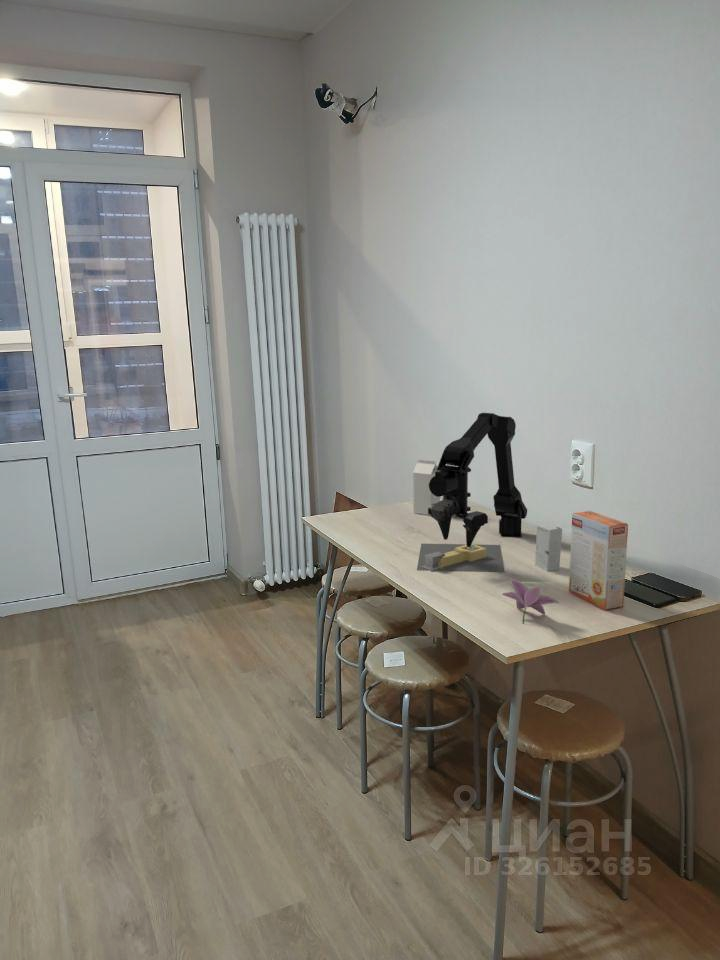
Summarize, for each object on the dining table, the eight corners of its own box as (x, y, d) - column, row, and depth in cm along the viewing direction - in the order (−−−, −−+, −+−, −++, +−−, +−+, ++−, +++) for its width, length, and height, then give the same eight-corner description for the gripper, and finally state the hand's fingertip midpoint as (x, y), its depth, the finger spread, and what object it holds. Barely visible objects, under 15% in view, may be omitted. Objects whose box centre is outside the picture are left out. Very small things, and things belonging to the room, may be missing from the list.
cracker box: (625, 607, 180) (629, 523, 175) (604, 611, 177) (608, 526, 173) (587, 588, 192) (591, 509, 188) (567, 592, 190) (571, 512, 186)
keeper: (431, 571, 207) (431, 558, 206) (421, 567, 210) (421, 555, 209) (446, 567, 210) (446, 554, 209) (435, 563, 213) (435, 550, 213)
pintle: (474, 555, 220) (474, 544, 219) (474, 557, 218) (474, 546, 217) (467, 555, 220) (467, 544, 219) (467, 557, 218) (467, 546, 217)
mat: (500, 545, 229) (500, 544, 229) (504, 573, 205) (504, 572, 205) (421, 544, 232) (421, 543, 232) (416, 571, 208) (416, 570, 208)
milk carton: (430, 515, 265) (430, 463, 261) (413, 513, 269) (412, 461, 265) (440, 511, 271) (440, 459, 267) (422, 508, 275) (422, 457, 271)
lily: (563, 629, 171) (566, 587, 173) (527, 620, 165) (530, 577, 167) (524, 628, 180) (527, 589, 183) (488, 620, 174) (492, 579, 177)
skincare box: (534, 566, 210) (535, 524, 208) (547, 563, 212) (548, 522, 209) (547, 572, 205) (549, 529, 202) (561, 570, 206) (562, 527, 204)
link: (470, 551, 223) (470, 543, 223) (486, 556, 218) (486, 548, 218) (429, 563, 213) (429, 554, 213) (445, 569, 208) (445, 560, 208)
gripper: (413, 488, 213) (414, 541, 217) (460, 500, 199) (460, 556, 202) (442, 482, 220) (442, 534, 223) (489, 493, 205) (488, 548, 209)
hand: (457, 542), depth 214 cm, fingers open, 9 cm apart
